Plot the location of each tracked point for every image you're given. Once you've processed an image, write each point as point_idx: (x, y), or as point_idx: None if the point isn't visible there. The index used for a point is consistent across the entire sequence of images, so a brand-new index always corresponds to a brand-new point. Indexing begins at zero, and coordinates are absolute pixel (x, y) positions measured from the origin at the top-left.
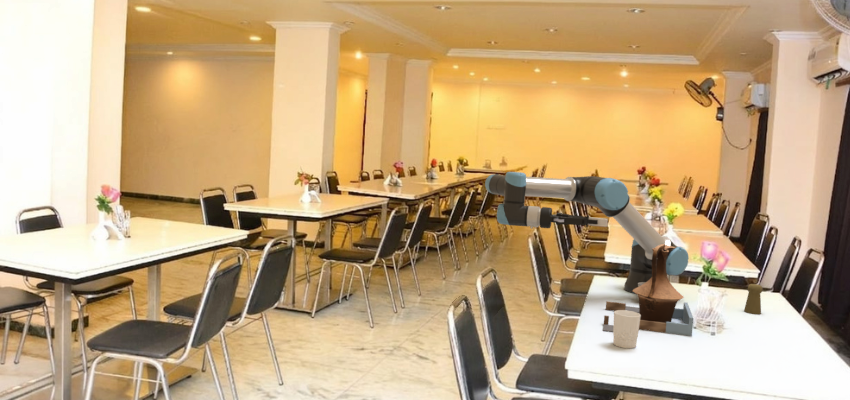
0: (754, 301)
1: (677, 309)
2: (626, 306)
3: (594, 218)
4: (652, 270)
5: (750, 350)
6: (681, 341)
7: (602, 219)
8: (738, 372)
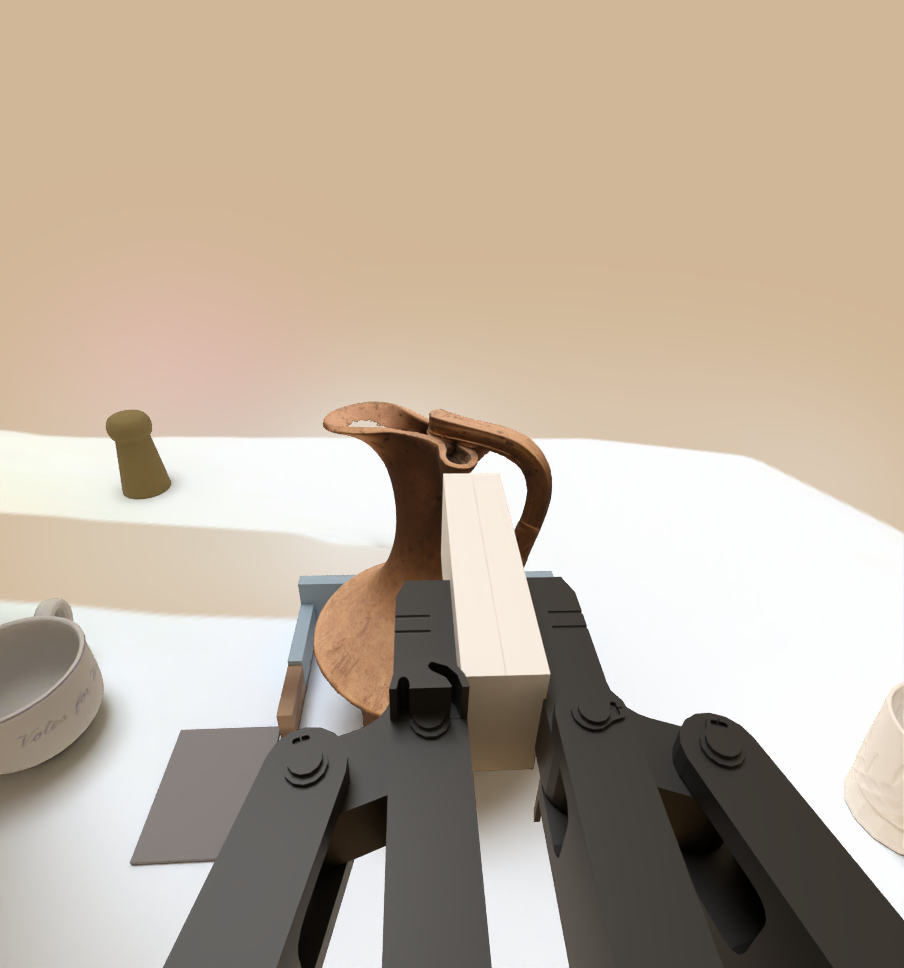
0: (156, 457)
1: (311, 620)
2: (149, 839)
3: (527, 597)
4: (528, 553)
5: (585, 522)
6: (638, 641)
7: (510, 520)
8: (810, 553)
